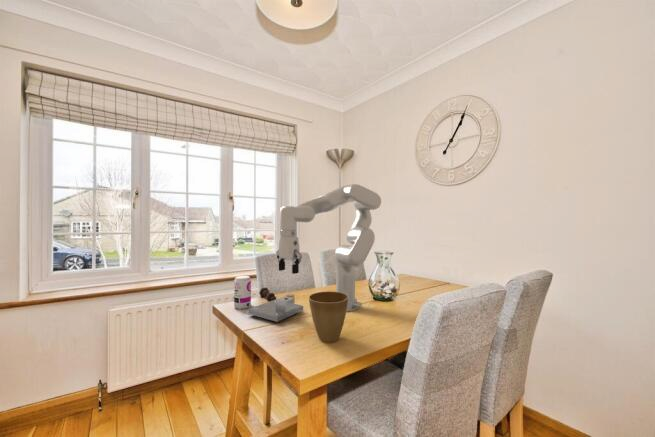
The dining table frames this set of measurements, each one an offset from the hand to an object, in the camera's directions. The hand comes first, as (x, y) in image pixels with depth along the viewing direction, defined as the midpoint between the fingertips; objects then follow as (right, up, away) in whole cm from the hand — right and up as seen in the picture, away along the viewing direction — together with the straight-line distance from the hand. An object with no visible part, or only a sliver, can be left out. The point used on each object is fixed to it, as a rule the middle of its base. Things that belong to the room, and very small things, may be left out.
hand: (288, 271), depth 127 cm
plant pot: (+18, -22, -20) cm, 35 cm away
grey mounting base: (-6, -21, +6) cm, 22 cm away
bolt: (-15, -21, +29) cm, 39 cm away
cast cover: (-2, -18, +2) cm, 18 cm away
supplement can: (-25, -21, +16) cm, 37 cm away
